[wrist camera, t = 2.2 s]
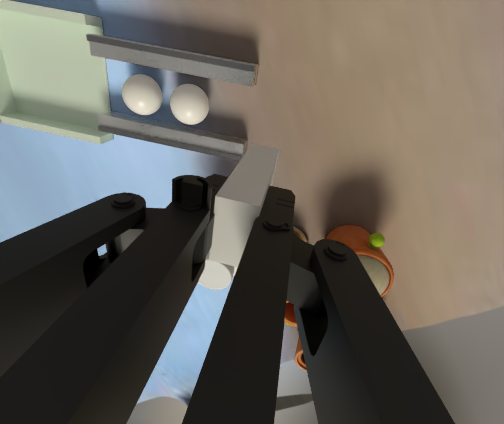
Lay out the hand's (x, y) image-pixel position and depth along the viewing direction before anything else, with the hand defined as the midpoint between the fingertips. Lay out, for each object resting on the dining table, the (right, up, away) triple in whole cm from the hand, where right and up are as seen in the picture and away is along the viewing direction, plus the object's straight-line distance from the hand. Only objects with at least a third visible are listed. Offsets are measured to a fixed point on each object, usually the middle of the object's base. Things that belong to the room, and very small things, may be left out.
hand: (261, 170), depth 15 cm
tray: (-22, +13, +15) cm, 30 cm away
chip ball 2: (-6, +9, +14) cm, 18 cm away
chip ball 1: (-11, +10, +14) cm, 21 cm away
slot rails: (-8, +10, +14) cm, 19 cm away
